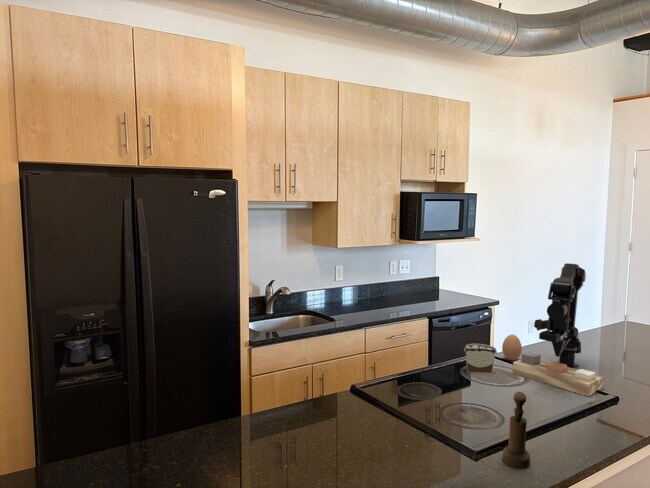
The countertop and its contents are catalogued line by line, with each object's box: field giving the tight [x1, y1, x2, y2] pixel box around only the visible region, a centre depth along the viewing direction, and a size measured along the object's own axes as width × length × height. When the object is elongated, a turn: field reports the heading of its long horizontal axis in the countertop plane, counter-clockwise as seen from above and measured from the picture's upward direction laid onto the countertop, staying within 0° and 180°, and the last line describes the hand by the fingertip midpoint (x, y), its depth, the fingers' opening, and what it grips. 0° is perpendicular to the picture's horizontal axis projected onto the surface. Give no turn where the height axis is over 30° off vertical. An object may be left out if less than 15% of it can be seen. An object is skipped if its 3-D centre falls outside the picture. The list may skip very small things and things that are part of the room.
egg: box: [501, 334, 523, 362], centre depth 204 cm, size 8×8×11 cm
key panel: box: [511, 358, 605, 396], centre depth 181 cm, size 12×28×4 cm, turn 39°
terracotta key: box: [547, 361, 567, 373], centre depth 180 cm, size 5×5×3 cm
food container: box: [463, 343, 498, 375], centre depth 190 cm, size 12×6×10 cm, turn 84°
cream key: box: [574, 368, 597, 381], centre depth 173 cm, size 5×5×3 cm
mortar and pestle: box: [501, 391, 531, 469], centre depth 122 cm, size 7×6×18 cm
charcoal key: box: [521, 351, 542, 365], centre depth 188 cm, size 5×5×3 cm
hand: (557, 356), depth 180 cm, fingers closed
